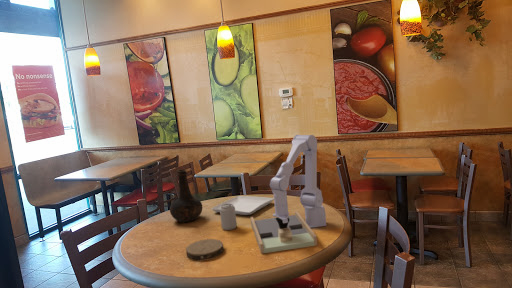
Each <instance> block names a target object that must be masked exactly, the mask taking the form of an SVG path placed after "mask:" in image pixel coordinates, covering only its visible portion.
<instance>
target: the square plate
mask: <svg viewBox="0 0 512 288" xmlns="http://www.w3.org/2000/svg"><path fill="white" fill-rule="evenodd" d="M272 202H274V197H266V196H265V197H264V196H254V195H253V196H250V195H248V196H247V195H237V196H234V197H232V198H229V199H226V200H225V201H223V202H222V203H219V204H217V205H215V206H213V207H211V210H212V211H214V212H217V213H220V208H221V205H223V204H233V206H234V207H235V214H236V215H240V216H241V215H242V216H249V215H252V214H254V213H256V212H257V211H259V210H261V209H262V208H265V207H266V206H267V205H269V204H270V203H272Z"/></svg>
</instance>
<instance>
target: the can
mask: <svg viewBox="0 0 512 288" xmlns="http://www.w3.org/2000/svg"><path fill="white" fill-rule="evenodd" d="M219 213H220V214H219V215H220V222H221V228H222V229H223V230H224V231H233V230H235V229H236V228H237V226H238V225H237V224H238V223H237V216H236V215H237V214H235V207H234V206H233V204H223V205H221V208H220V212H219Z"/></svg>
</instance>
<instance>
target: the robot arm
mask: <svg viewBox="0 0 512 288" xmlns="http://www.w3.org/2000/svg"><path fill="white" fill-rule="evenodd" d="M291 145H292V146H291V149H290V151H289V153H288V156H287V158H286V161H284V162H282V163H281V165H280V167H279V169H278V170H277V173H276V175H275V176H274V177H272V178H271V179H270V182H269V187H270V190H271V192H272V194H273V198H274V200H273V202H274V213H272V218H276V220H277V222H278V224H279V228H280V229H282V228H287V226H288V222H289V217H288V216H290V213H289V205H288V194H287V190H288V188H289V185H290V177H291V175H292V174H293V171H294V169H295V167H294V164H295V162H296V161H297V159H298V157H299V156H300V154H301V153H302V152H303V154H304V156H305V157H304V159H305V162H304V163H305V164H304V173H305V175H304V176H305V178H304V181H305V182H304V183H305V185H304V188H303V189H301V191H300V192H301V193H300V197H299V201H300V204H301V205H302V207H303V208H304V217H305V219H304V220H305V222H306V223H307V224H308V226H309V227H310V228H311V229H312V228H318V227H319V228H320V227H325V226H328V225H327V216H326V209H325V206H324V205H323V203H324V198H323V195H322V194H323V193H322V190H321V189H319V187H317V186H318V185H317V184H318V183H317V181H318V178H317V175H318V173H317V172H318V170H317V165H318V164H317V160H318V159H317V151H318V139H317V137H316V136H315V135H314V134H295V135H294V136H293V138H292V141H291Z"/></svg>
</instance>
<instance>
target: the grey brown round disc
mask: <svg viewBox="0 0 512 288" xmlns="http://www.w3.org/2000/svg"><path fill="white" fill-rule="evenodd" d="M185 250H186V257H187V258H188V259H189V260H192V261H207V260H211V259H214V258H217V257H219V256H220V255H222V254H223V253H224V251H225V250H224V243H223V241H221V240H219V239H215V238H207V239H201V240H198V241H194V242H191V243H190V244H188V245H187V246H186V248H185Z"/></svg>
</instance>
